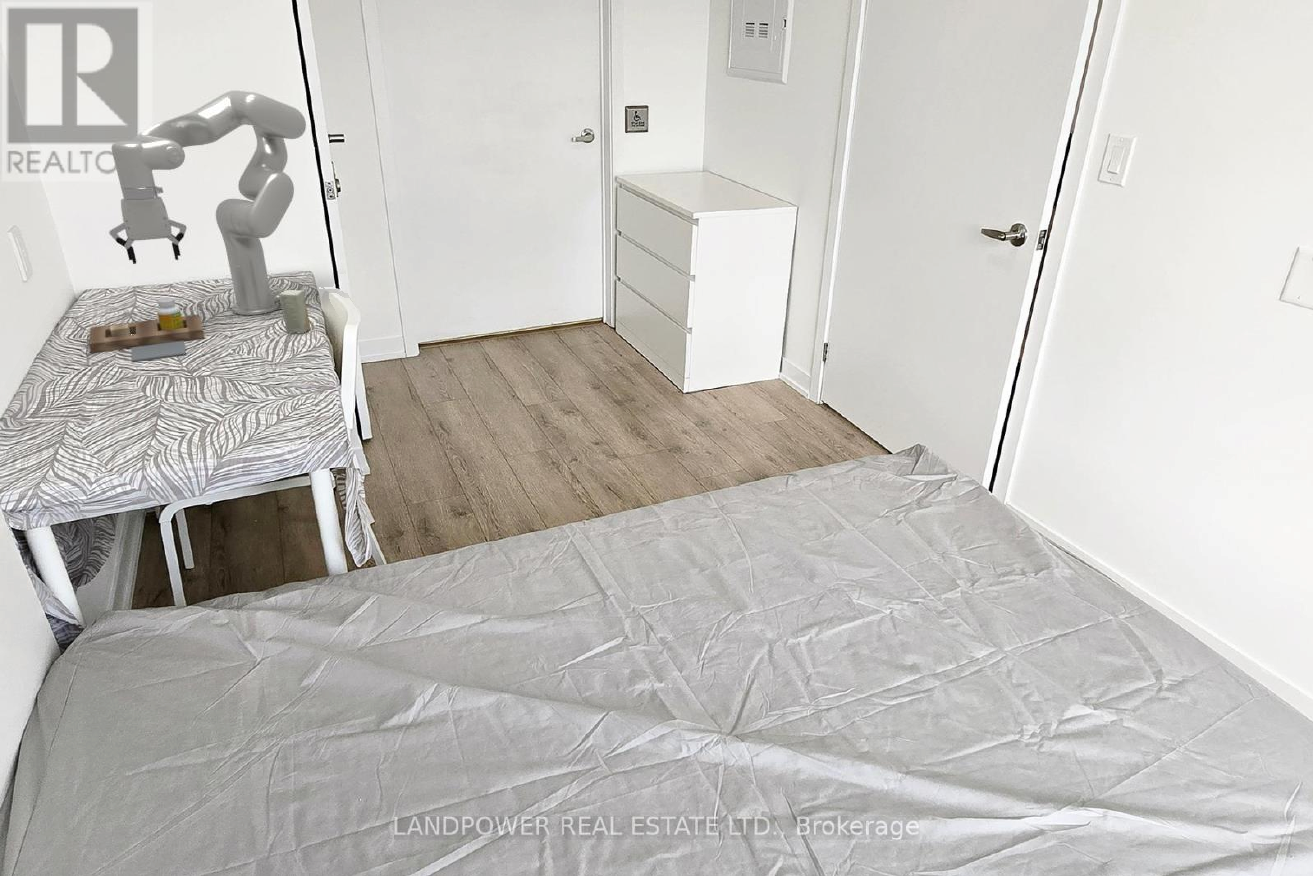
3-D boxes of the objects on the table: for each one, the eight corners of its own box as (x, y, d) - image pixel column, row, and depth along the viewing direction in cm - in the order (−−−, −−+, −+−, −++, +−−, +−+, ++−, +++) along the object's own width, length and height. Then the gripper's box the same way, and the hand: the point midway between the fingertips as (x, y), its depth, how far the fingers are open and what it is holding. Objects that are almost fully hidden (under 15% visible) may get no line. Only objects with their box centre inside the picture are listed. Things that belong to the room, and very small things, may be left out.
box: (311, 328, 237) (304, 290, 232) (303, 334, 233) (297, 294, 228) (293, 327, 237) (286, 289, 232) (285, 333, 233) (278, 293, 228)
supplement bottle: (178, 338, 228) (170, 303, 223) (158, 337, 228) (150, 302, 224) (189, 331, 233) (181, 296, 228) (169, 330, 233) (161, 296, 228)
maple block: (131, 337, 227) (128, 323, 226) (131, 342, 224) (128, 328, 222) (114, 339, 226) (110, 325, 224) (114, 344, 223) (110, 330, 221)
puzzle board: (201, 322, 239) (199, 314, 238) (204, 338, 228) (202, 329, 227) (92, 336, 227) (90, 327, 226) (91, 353, 216) (88, 344, 215)
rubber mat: (184, 342, 225) (183, 340, 225) (186, 354, 217) (185, 352, 217) (132, 349, 220) (131, 347, 219) (132, 362, 212) (131, 360, 212)
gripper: (177, 188, 220) (192, 253, 228) (100, 193, 213) (117, 260, 220) (179, 193, 214) (194, 260, 222) (99, 198, 207) (117, 267, 214)
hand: (156, 260), depth 221 cm, fingers open, 9 cm apart
